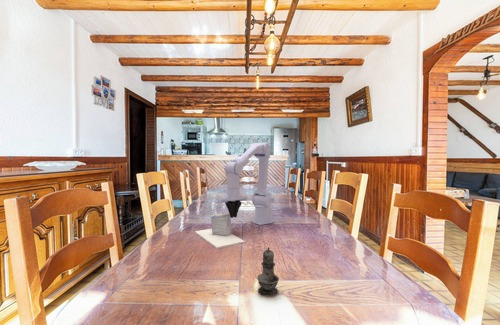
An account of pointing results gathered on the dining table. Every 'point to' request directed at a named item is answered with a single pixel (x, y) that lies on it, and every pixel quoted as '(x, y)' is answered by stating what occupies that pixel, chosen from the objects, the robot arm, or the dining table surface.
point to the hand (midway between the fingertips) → (233, 217)
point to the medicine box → (221, 224)
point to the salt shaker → (268, 275)
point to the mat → (219, 238)
